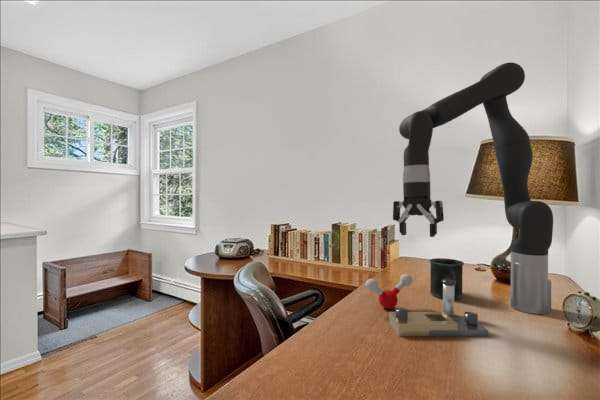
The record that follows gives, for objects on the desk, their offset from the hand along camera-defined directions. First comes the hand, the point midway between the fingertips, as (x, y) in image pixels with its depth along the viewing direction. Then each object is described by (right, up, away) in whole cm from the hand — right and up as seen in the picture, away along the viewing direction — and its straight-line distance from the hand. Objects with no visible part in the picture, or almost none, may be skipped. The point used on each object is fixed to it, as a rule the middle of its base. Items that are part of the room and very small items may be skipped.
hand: (417, 235), depth 92 cm
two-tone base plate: (0, -23, -12) cm, 26 cm away
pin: (+8, -23, -2) cm, 24 cm away
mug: (+17, -23, +17) cm, 34 cm away
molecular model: (-8, -23, +3) cm, 24 cm away
